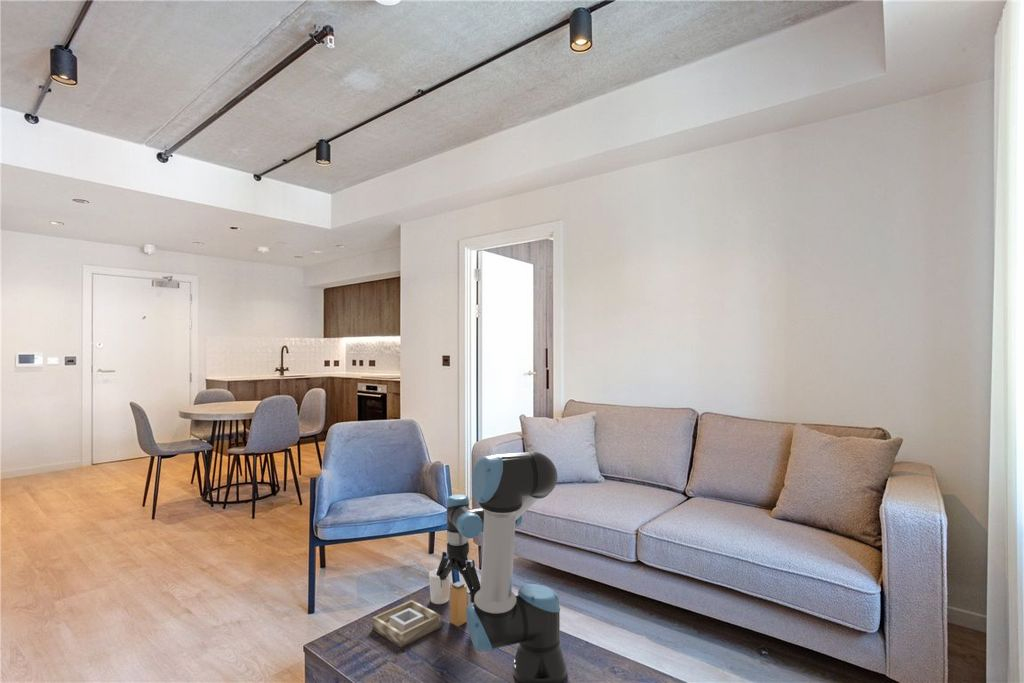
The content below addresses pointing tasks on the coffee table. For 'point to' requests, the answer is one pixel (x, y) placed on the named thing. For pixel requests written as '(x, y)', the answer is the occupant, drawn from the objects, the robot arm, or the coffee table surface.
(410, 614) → the socket
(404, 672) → the coffee table surface
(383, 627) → the box
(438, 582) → the white cup
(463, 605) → the connector
